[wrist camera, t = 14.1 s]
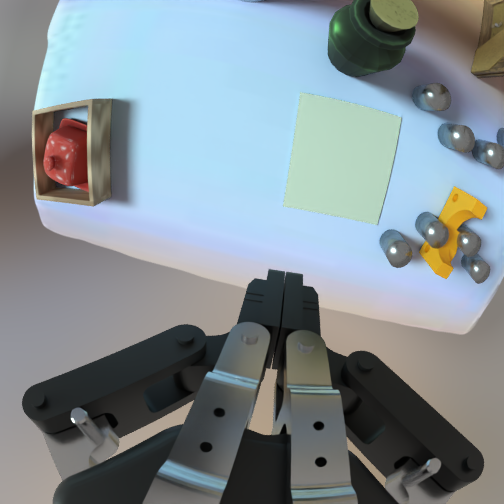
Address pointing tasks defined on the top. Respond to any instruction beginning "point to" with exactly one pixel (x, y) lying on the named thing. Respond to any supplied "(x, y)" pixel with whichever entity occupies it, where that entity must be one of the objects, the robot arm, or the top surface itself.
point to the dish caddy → (95, 153)
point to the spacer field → (427, 223)
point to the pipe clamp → (452, 230)
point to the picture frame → (490, 42)
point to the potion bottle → (371, 35)
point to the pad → (341, 158)
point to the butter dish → (68, 155)
